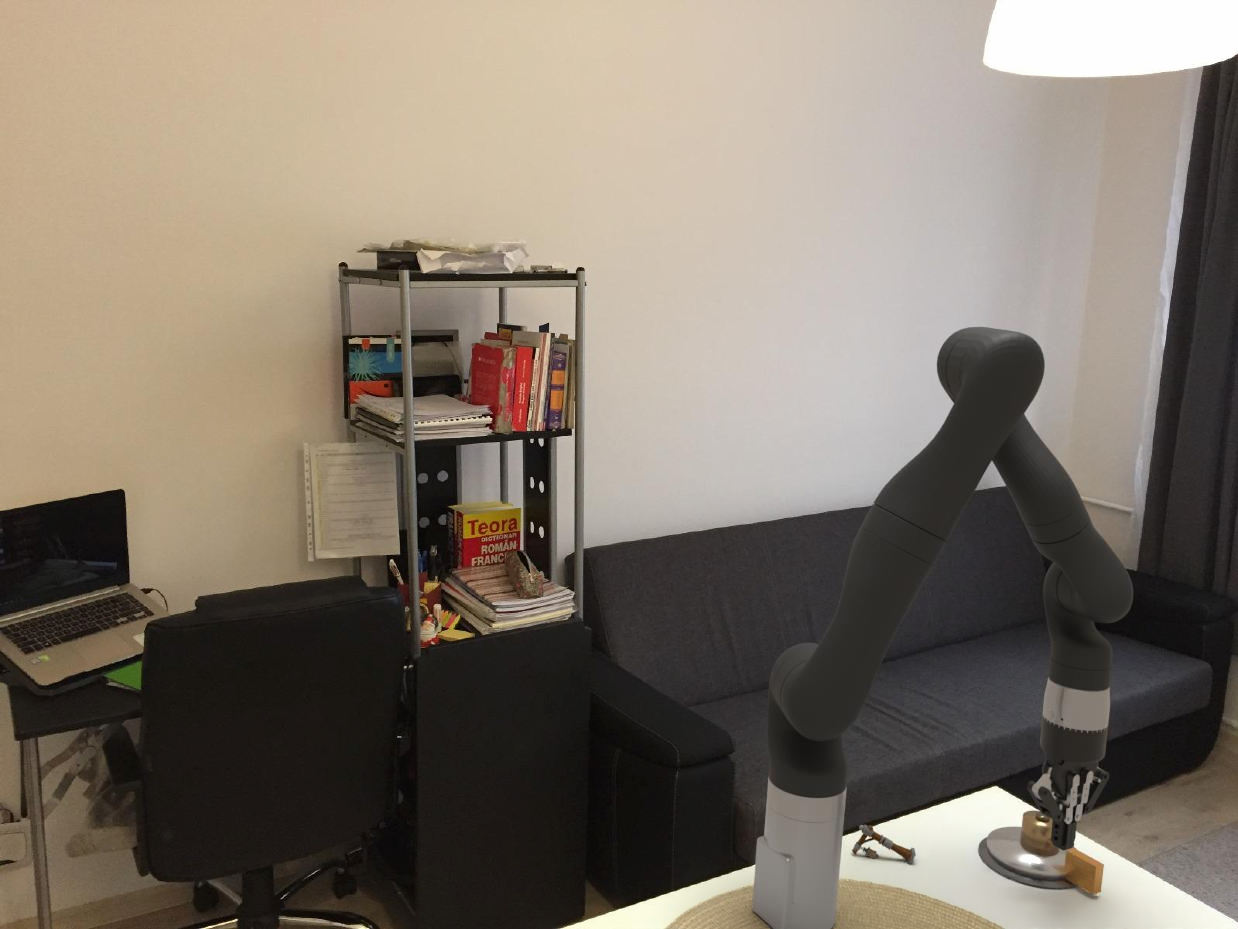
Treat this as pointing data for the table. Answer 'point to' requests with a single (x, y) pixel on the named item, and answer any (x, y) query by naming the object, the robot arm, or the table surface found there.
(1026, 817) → the cover
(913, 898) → the table surface
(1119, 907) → the table surface
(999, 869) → the base plate
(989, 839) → the silver disc with handle
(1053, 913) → the table surface
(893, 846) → the toy blunderbuss
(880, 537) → the robot arm
